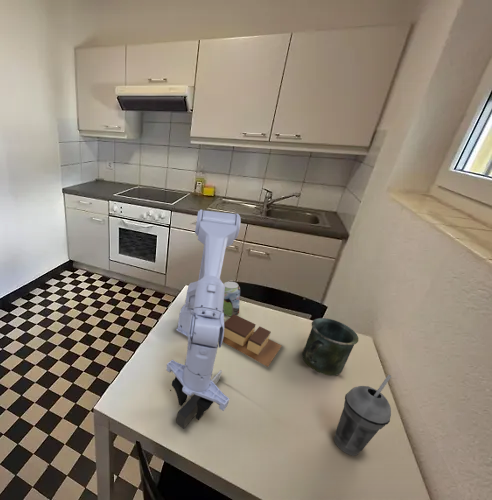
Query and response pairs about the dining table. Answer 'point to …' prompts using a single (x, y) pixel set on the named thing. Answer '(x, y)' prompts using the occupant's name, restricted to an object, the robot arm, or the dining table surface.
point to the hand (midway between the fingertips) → (190, 409)
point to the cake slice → (258, 340)
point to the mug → (329, 346)
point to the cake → (238, 329)
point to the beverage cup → (362, 418)
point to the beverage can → (231, 298)
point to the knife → (192, 406)
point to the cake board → (264, 355)
